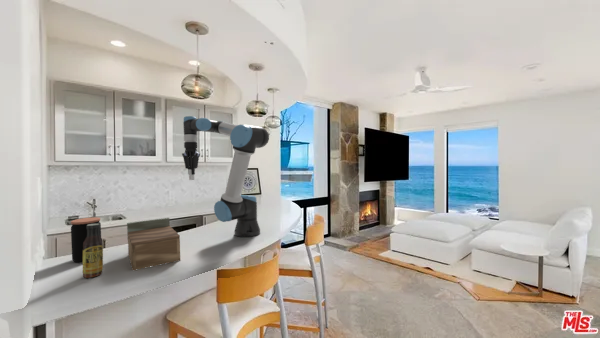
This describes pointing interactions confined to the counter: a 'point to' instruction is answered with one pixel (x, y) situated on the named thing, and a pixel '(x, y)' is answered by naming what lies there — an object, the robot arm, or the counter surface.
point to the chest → (154, 253)
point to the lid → (150, 231)
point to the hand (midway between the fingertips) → (191, 179)
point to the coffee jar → (81, 236)
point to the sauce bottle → (92, 252)
